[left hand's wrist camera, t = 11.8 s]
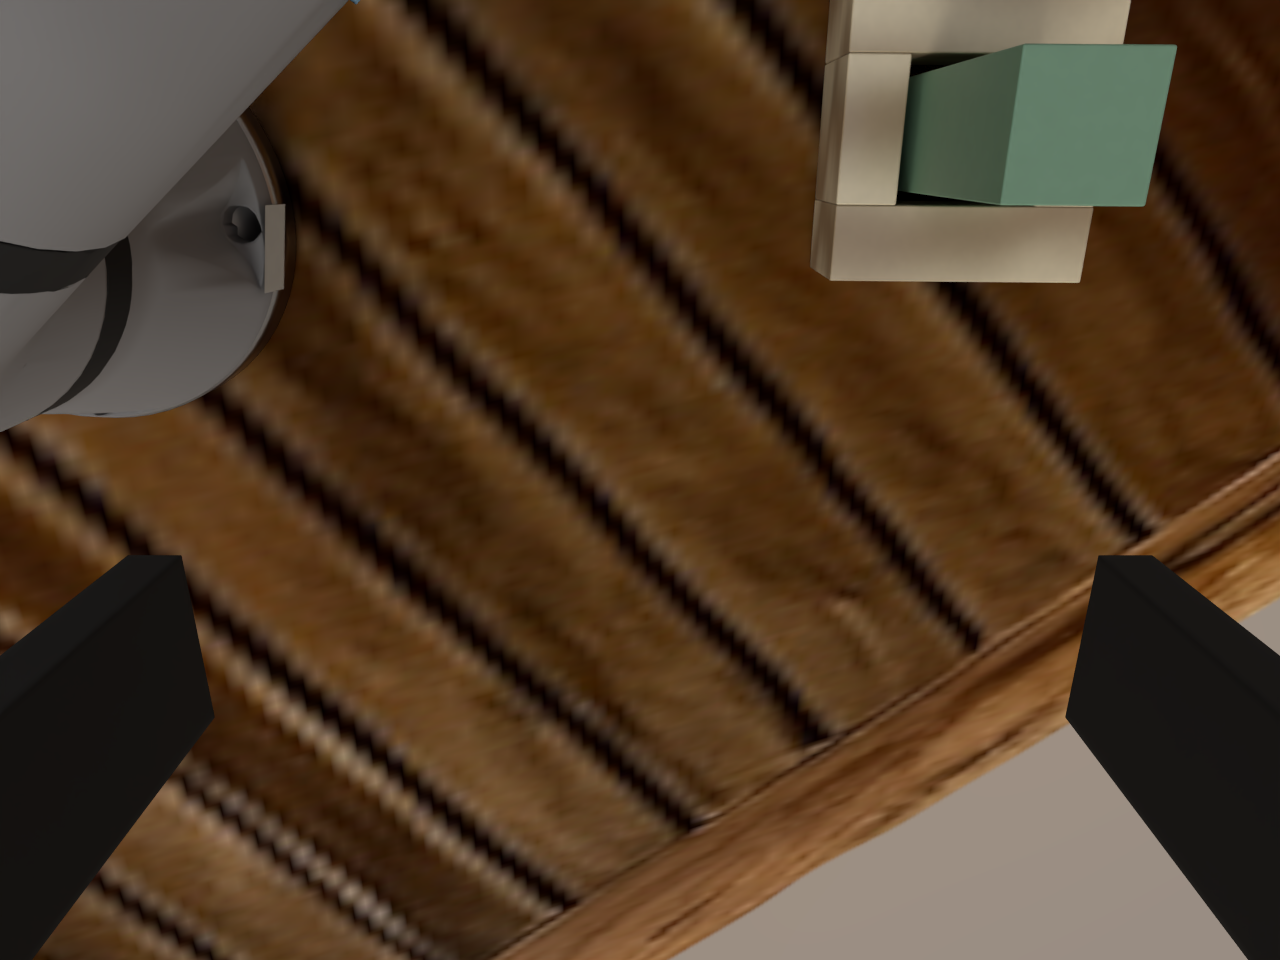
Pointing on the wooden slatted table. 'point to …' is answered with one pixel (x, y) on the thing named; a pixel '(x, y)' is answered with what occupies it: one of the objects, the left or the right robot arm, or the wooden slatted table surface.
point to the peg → (1039, 125)
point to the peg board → (873, 134)
